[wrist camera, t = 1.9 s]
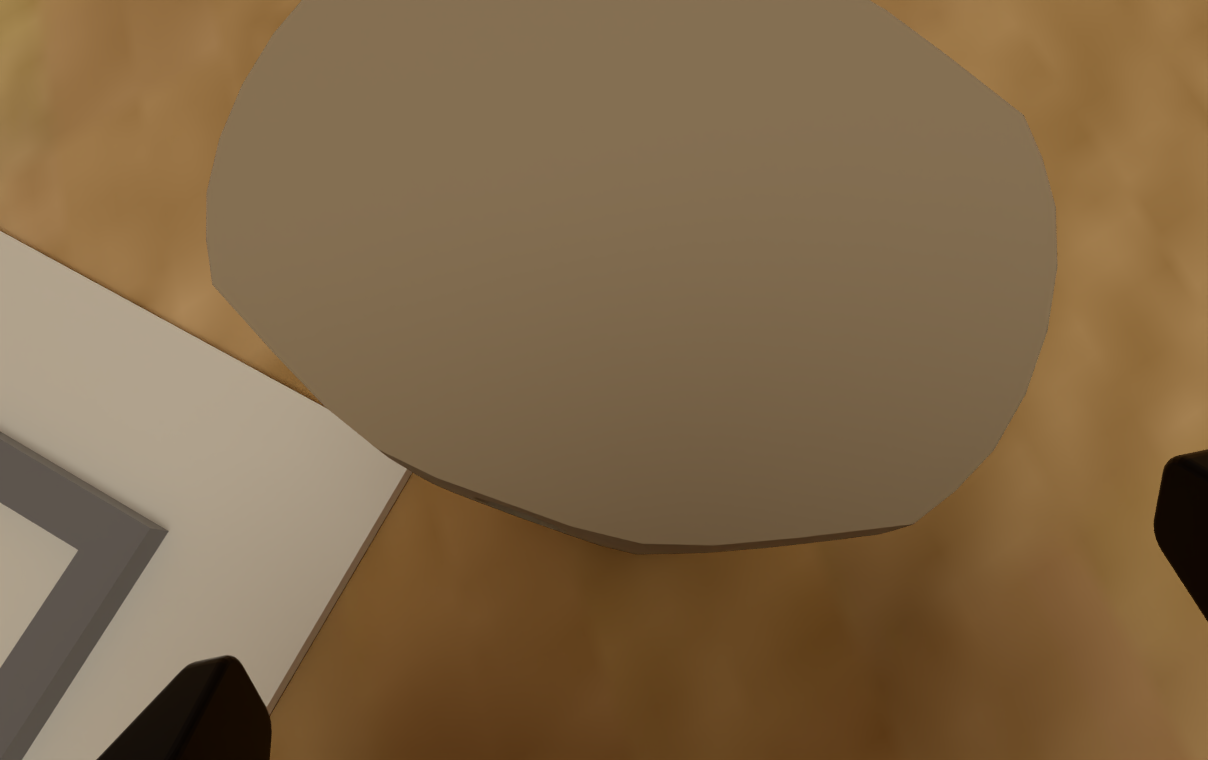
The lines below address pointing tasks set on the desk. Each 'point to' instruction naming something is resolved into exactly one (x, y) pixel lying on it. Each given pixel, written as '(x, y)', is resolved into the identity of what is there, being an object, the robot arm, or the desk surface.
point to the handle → (642, 257)
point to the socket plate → (155, 511)
